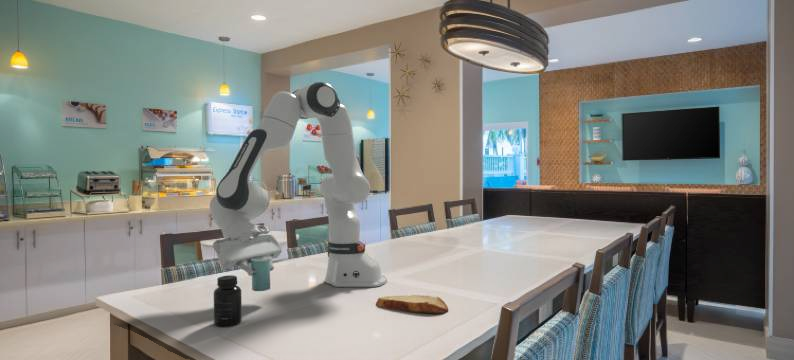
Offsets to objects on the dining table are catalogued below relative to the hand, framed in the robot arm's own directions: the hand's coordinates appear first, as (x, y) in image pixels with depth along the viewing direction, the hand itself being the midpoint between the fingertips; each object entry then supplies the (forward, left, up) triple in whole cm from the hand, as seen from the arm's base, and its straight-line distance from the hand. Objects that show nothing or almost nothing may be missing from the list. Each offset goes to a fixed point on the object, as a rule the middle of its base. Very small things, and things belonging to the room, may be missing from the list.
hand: (262, 272), depth 134 cm
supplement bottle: (+1, +17, -10) cm, 20 cm away
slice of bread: (-44, -6, -10) cm, 46 cm away
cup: (0, 0, -5) cm, 5 cm away
